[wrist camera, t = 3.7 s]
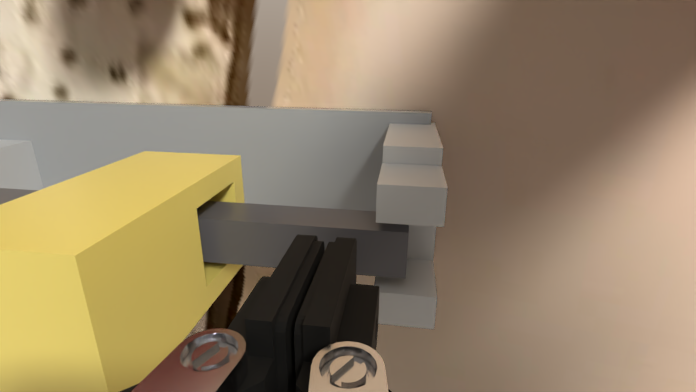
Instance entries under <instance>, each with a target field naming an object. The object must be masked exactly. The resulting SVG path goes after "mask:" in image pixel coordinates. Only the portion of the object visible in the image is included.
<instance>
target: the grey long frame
mask: <svg viewBox="0 0 696 392" xmlns="http://www.w3.org/2000/svg"><path fill="white" fill-rule="evenodd" d="M431 117H432V112H431V111H400V110H365V109H329V108H294V107H258V106H257V107H255V106H223V105H188V104H152V103H117V102H81V101H46V100H11V99H0V205H1V204H4V203H6V202H9V201H12V200H14V199H17V198H20V197H22V196H25V195H28V194H30V193H33V192H36V191H39V190H41V189H44V188H47V187H49V186H52V185H55V184H57V183H60V182H63V181H65V180H68V179H71V178H74V177H76V176H79V175H82V174H84V173H87V172H90V171H92V170H95V169H98V168H100V167H103V166H106V165H109V164H111V163H114V162H117V161H119V160H122V159H125V158H127V157H130V156H133V155H136V154H138V153H141V152H144V151H154V152H176V153H198V154H220V155H241V166H242V178H243V190H244V202H245V203H234V202H218V201H207V202H205V203H204V204H202V205H201V206H200V207H198V208H197V215H198V223H199V231H200V239H201V247H202V255H203V262H213V263H225V264H237V265H249V266H261V267H273V268H277V266H278V264H279V263H280V261H281V260H282V258H283V256H284V255H285V253H286V251H287V250H288V248H289V247H290V245H291V243H292V242H293V240H294V239H295V237H296V235H297V234H300V235H315V236H317V237H318V241H324V246H325V249H326V247H327V245H328V242H335V240H336V238H337V237H344V238H356V240H357V261H356V274H357V275H369V276H376V277H375V284H374V286H379V287H380V293H379V317H378V324H384V325H394V326H404V327H414V328H424V329H434V326H435V316H436V305H437V290H436V281H435V272H434V262H433V258H434V247H435V236H436V227H444V223H445V213H446V202H447V192H448V187H447V183H446V179H445V176H444V172H443V168H442V158H443V146H442V143H441V140H440V137H439V134H438V131H437V128H436V125H435V123H431Z"/></svg>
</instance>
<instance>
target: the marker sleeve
mask: <svg viewBox="0 0 696 392" xmlns="http://www.w3.org/2000/svg"><path fill="white" fill-rule="evenodd" d="M207 201H218V202H234V203H245V202H244V190H243V178H242V166H241V155H220V154H198V153H176V152H154V151H144V152H141V153H138V154H136V155H133V156H130V157H127V158H125V159H122V160H119V161H117V162H114V163H111V164H109V165H106V166H103V167H100V168H98V169H95V170H92V171H90V172H87V173H84V174H82V175H79V176H76V177H74V178H71V179H68V180H65V181H63V182H60V183H57V184H55V185H52V186H49V187H47V188H44V189H41V190H39V191H36V192H33V193H30V194H28V195H25V196H22V197H20V198H17V199H14V200H12V201H9V202H6V203H4V204H1V205H0V392H120V391H122V390H124V389H127V388H129V387H131V386H134V385H136V384H139V383H140V382H141V381H142V380H143V379H144V378H145V377H146V376H147V375H148V374H149V373H150V372H151V371H152V370H154V369H155V368H156V367H157V366H158V365H159V364H160V363H161V362H162V361H163V360H164V359H165V358H166V357H167V356H168V355H169V354H170V353H171V352H172V351H173V350H174V349H175V348H176V347H177V346H178V345H179V344H180V343H182V342H183V340H184V339H185V338H186V337H187V335H188V334H189V333H190V332H191V330H192V329H193V328H194V327H195V325H196V324H197V323H198V321H199V320H200V319H201V318H202V316H203V315H204V314H205V313H206V311H207V310H208V309H209V307H210V306H211V305H212V304H213V302H214V301H215V300H216V299H217V297H218V296H219V295H220V294H221V292H222V291H223V290H224V288H225V287H226V286H227V285H228V283H229V282H230V281H231V280H232V278H233V277H234V276H235V275H236V273H237V272H238V271H239V269H240V268H241V267H242V266H243V265H237V264H225V263H213V262H203V255H202V247H201V239H200V231H199V223H198V215H197V208H198V207H200V206H201V205H202V204H204V203H205V202H207Z"/></svg>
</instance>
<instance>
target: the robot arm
mask: <svg viewBox="0 0 696 392" xmlns="http://www.w3.org/2000/svg"><path fill="white" fill-rule="evenodd" d="M356 261H357V240H356V238H344V237H337V238H336V240H335V242H328V245H327V247H326V249H325V246H324V241H318V237H317V236H315V235H300V234H297V235H296V237H295V239H294V240H293V242H292V243H291V245H290V247H289V248H288V250H287V251H286V253H285V255H284V256H283V258H282V260H281V261H280V263H279V264H278V266H277V268H276V269H275V271H274V272H273V274H272V276H271V277H262V278H261V279H260V280H259V281H258V283H257V284H256V286H255V288H254V289H253V291H252V292H251V294H250V295H249V297H248V298H247V300H246V301H245V303H244V304H243V306H242V307H241V309H240V310H239V312H238V313H237V315H236V316H235V318H234V319H233V321H232V322H231V324H230V325H229V327H228V328H227V329H222V328H217V329H209V330H205V331H202V332H198V333H196V334H194V335H192V336H190V337H188V338H187V339H185V340H184V341H183V342H182V343H180V344H179V345H178V346H177V347H176V348H175V349H174V350H173V351H172V352H171V353H170V354H169V355H168V356H167V357H166V358H165V359H164V360H163V361H162V362H161V363H160V364H159V365H158V366H157V367H156V368H155V369H154V370H152V371H151V372H150V373H149V374H148V375H147V376H146V377H145V378H144V379H143V380H142V381H141V382H140V383H139V384H136V385H134V386H131V387H129V388H127V389H124V390H122V391H120V392H391V391H390V390H389V389H388V384H387V377H386V369H385V364H384V361H383V359H382V357H381V356H380V355H379V353H378V352H377V351H376V344H377V332H378V317H379V293H380V287H379V286H373V285H361V284H356Z"/></svg>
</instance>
